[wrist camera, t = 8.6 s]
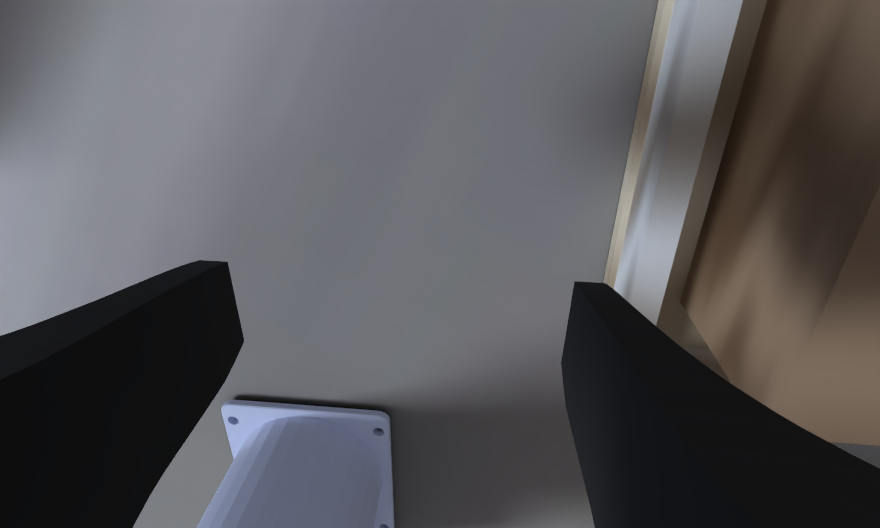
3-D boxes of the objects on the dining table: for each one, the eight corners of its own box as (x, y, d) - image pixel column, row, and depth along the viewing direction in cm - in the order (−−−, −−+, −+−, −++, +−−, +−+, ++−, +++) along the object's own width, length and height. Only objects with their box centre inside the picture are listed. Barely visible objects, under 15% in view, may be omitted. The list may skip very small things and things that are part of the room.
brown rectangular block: (778, 307, 18) (910, 448, 12) (680, 302, 18) (765, 436, 13) (937, -89, 13) (1310, -165, 7) (793, -90, 13) (1036, -164, 7)
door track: (816, 366, 20) (859, 413, 18) (589, 351, 21) (601, 395, 18) (1106, -243, 11) (1258, -303, 9) (705, -236, 12) (755, -292, 10)
